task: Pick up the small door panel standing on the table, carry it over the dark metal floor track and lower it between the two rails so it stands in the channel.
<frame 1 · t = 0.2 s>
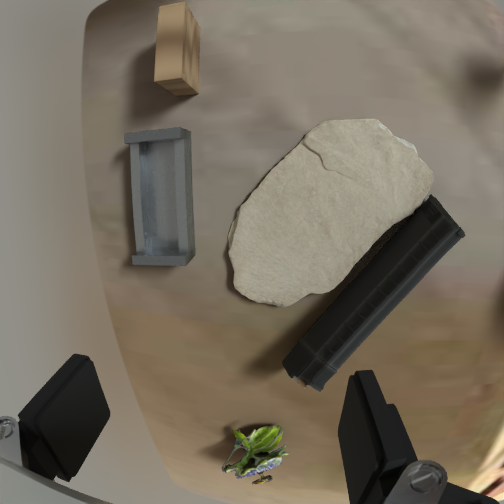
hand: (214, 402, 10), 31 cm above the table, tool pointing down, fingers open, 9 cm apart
magazine: (362, 282, 41), on the table
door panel: (188, 60, 34), on the table
stone tablet: (322, 208, 39), on the table
passion flower: (254, 437, 50), on the table
track: (166, 194, 39), on the table
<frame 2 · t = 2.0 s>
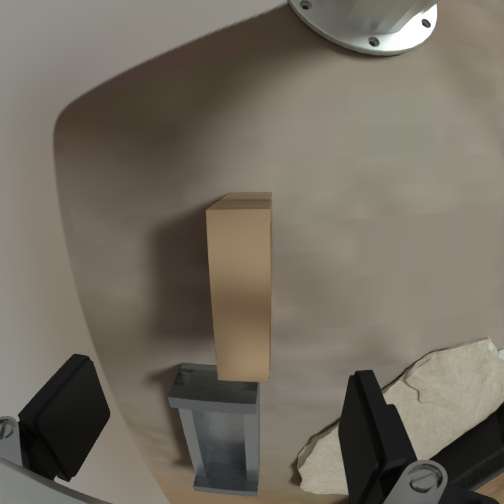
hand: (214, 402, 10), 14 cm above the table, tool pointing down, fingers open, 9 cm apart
magazine: (421, 462, 31), on the table
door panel: (252, 259, 24), on the table
stone tablet: (402, 423, 29), on the table
track: (225, 423, 29), on the table
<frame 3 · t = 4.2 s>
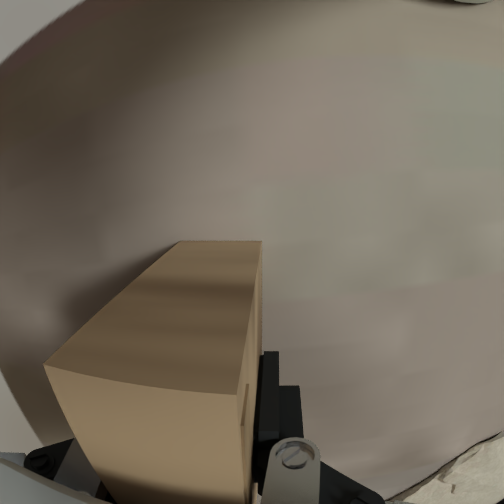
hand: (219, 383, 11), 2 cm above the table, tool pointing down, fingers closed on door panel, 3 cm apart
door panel: (225, 357, 13), on the table, touching gripper
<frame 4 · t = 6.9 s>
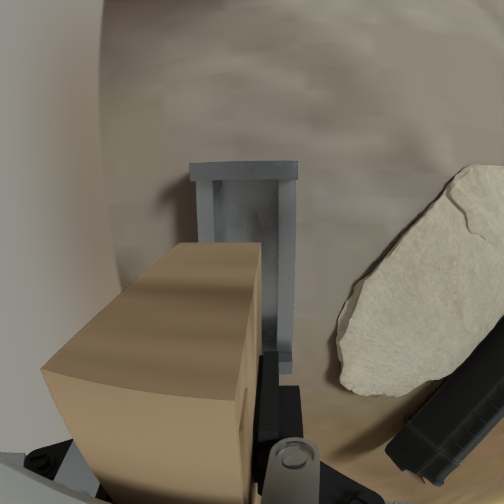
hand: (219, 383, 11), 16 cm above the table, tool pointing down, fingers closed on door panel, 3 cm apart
magazine: (476, 353, 28), on the table
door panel: (225, 359, 13), point 14 cm above the table, touching gripper
stone tablet: (452, 278, 26), on the table
track: (250, 260, 26), on the table
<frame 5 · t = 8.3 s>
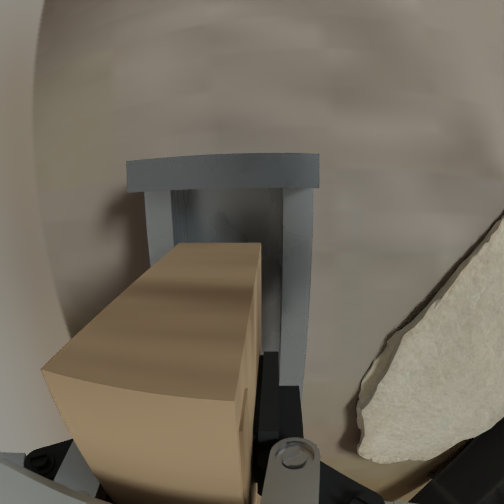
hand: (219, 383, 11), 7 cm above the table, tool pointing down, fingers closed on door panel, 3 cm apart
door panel: (225, 359, 13), point 5 cm above the table, touching gripper
track: (238, 307, 17), on the table
when the fingers open (4 cm above the table, at t = 9.5 s): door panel drops 2 cm, resting on track.
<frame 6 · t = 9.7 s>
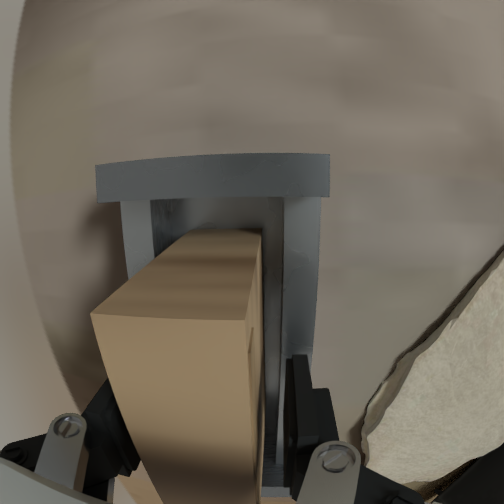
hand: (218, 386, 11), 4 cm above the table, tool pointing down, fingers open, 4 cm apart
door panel: (232, 335, 14), point 1 cm above the table, touching track
track: (232, 328, 15), on the table
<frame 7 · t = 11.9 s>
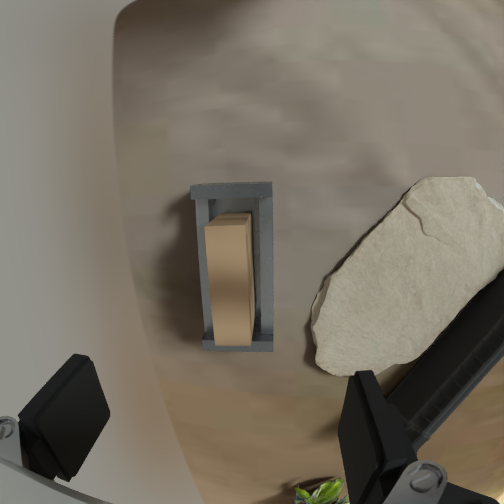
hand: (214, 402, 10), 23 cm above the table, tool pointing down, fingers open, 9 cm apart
magazine: (445, 340, 34), on the table
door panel: (239, 261, 32), point 1 cm above the table, touching track
stone tablet: (413, 274, 32), on the table
passion flower: (311, 488, 43), on the table
track: (239, 260, 33), on the table
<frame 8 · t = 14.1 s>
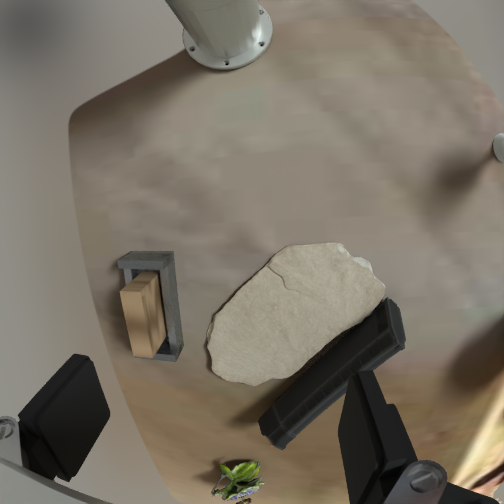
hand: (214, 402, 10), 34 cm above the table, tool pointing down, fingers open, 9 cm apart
magazine: (323, 363, 49), on the table
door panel: (156, 302, 46), point 1 cm above the table, touching track
chalice: (502, 148, 37), on the table
stone tablet: (284, 315, 47), on the table
passion flower: (237, 468, 58), on the table
track: (157, 300, 47), on the table
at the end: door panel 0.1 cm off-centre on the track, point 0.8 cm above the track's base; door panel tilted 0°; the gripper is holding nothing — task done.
